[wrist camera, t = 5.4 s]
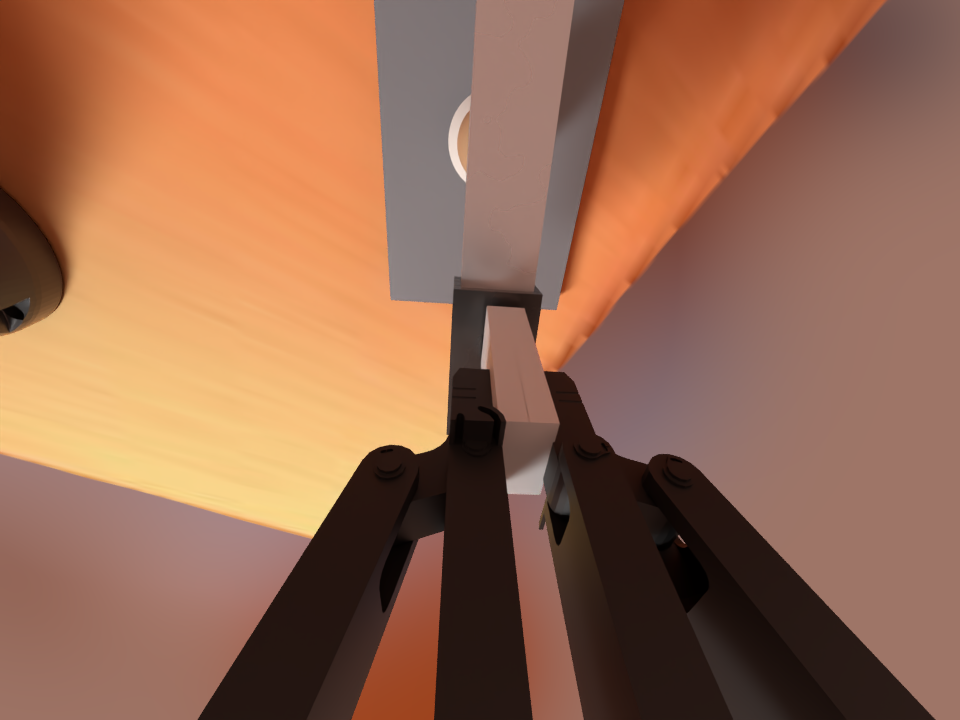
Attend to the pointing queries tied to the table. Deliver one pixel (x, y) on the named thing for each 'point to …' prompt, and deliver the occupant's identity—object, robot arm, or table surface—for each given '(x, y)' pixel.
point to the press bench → (424, 136)
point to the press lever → (507, 164)
